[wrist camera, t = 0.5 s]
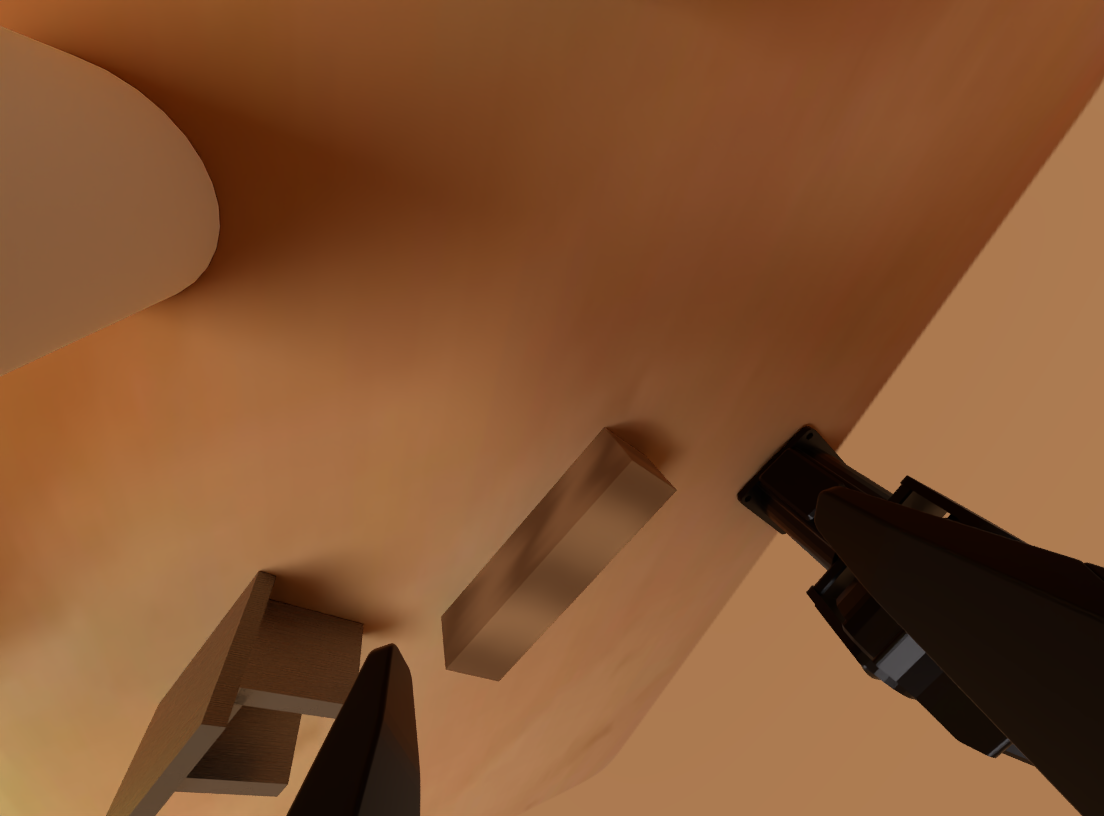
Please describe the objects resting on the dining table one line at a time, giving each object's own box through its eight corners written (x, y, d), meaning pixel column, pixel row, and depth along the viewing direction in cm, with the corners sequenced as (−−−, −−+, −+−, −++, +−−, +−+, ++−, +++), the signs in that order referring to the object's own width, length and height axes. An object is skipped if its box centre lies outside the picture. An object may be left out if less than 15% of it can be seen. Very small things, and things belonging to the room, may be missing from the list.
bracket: (378, 606, 24) (370, 744, 18) (282, 720, 26) (245, 882, 20) (259, 571, 21) (201, 724, 15) (158, 704, 23) (70, 890, 17)
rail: (602, 424, 24) (632, 460, 20) (643, 453, 25) (676, 490, 22) (440, 612, 26) (445, 669, 23) (488, 626, 28) (498, 681, 25)
